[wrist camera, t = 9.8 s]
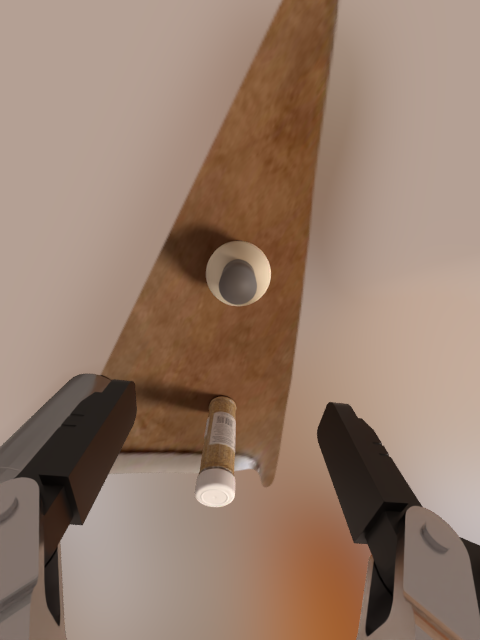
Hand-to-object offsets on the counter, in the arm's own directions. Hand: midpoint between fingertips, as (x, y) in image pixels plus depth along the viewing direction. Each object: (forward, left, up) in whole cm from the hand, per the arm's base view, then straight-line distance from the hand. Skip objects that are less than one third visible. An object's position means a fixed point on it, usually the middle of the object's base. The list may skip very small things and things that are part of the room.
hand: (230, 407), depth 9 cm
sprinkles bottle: (-11, -19, -21) cm, 30 cm away
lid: (+1, +1, -17) cm, 17 cm away
